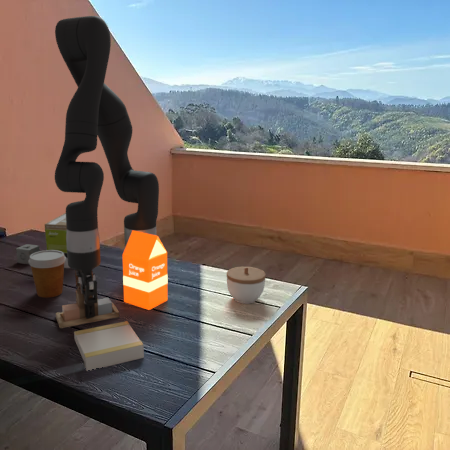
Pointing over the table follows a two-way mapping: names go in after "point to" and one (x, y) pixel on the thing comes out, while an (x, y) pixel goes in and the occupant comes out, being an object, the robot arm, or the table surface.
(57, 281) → the disposable coffee cup
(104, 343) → the strip
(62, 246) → the tea box
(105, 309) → the block
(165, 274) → the orange juice
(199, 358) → the table surface
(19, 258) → the dice cube
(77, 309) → the block
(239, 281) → the lidded jar
